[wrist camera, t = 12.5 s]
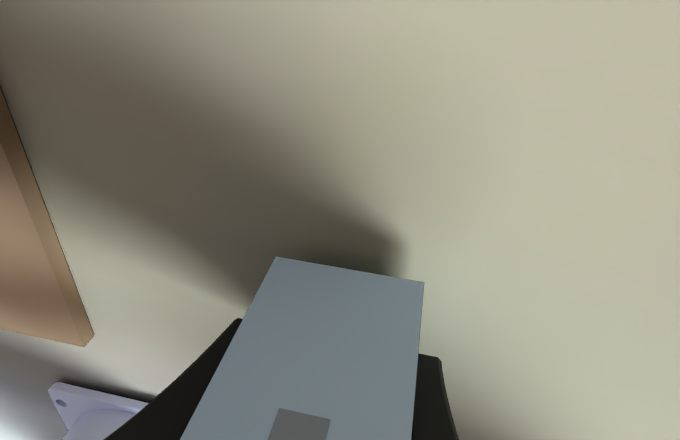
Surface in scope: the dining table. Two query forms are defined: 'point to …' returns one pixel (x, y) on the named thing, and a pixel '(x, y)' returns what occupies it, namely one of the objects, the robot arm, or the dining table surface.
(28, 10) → the dining table surface
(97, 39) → the dining table surface
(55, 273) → the jig
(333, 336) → the pale blue patched block
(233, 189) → the dining table surface
